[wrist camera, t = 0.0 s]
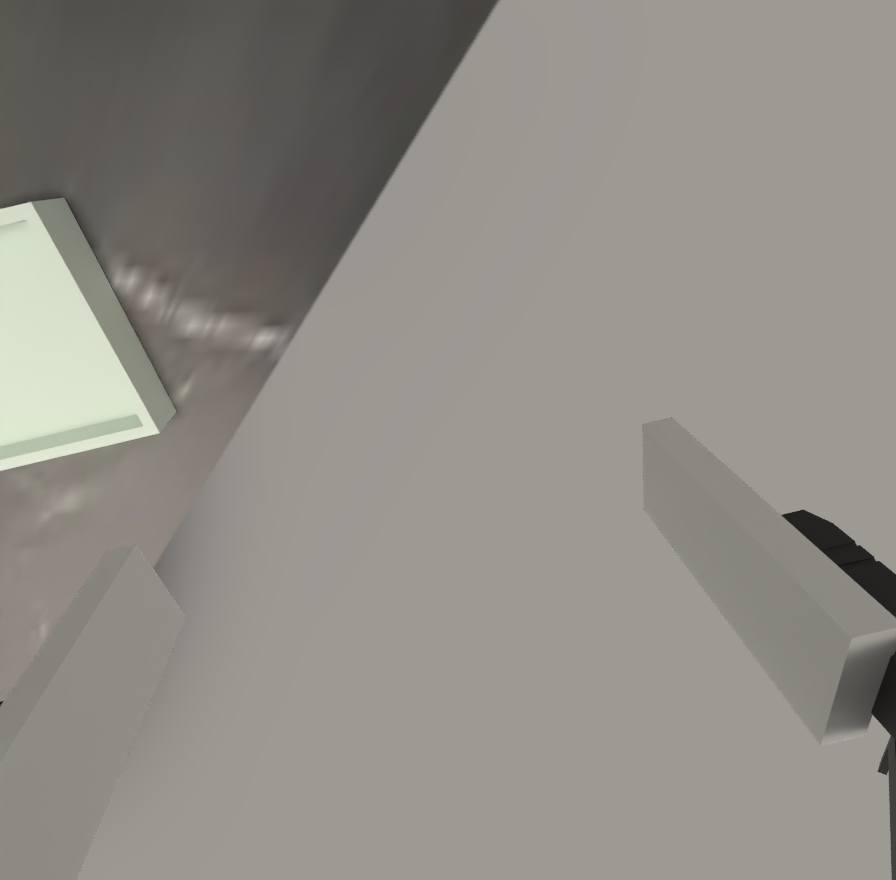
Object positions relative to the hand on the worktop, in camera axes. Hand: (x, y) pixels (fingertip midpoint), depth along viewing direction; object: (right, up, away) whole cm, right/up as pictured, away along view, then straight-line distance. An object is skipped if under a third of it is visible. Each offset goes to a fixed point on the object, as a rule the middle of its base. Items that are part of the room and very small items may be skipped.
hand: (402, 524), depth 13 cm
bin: (-29, +9, +23) cm, 38 cm away
